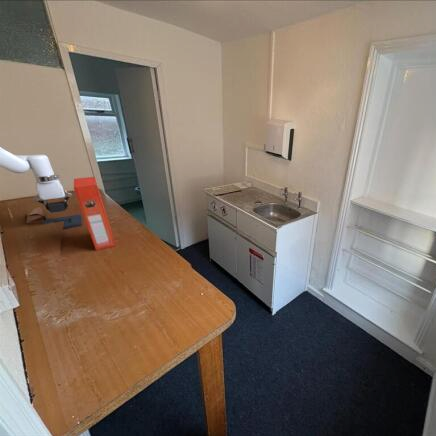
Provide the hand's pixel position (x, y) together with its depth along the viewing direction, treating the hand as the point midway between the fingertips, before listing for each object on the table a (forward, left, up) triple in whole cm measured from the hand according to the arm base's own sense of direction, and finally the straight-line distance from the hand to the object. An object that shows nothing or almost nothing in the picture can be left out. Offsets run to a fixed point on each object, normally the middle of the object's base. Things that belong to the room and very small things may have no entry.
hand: (58, 209), depth 132 cm
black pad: (0, 0, -1) cm, 1 cm away
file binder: (+17, -36, -10) cm, 41 cm away
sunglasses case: (-13, +19, -10) cm, 25 cm away
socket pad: (0, 0, -10) cm, 10 cm away
